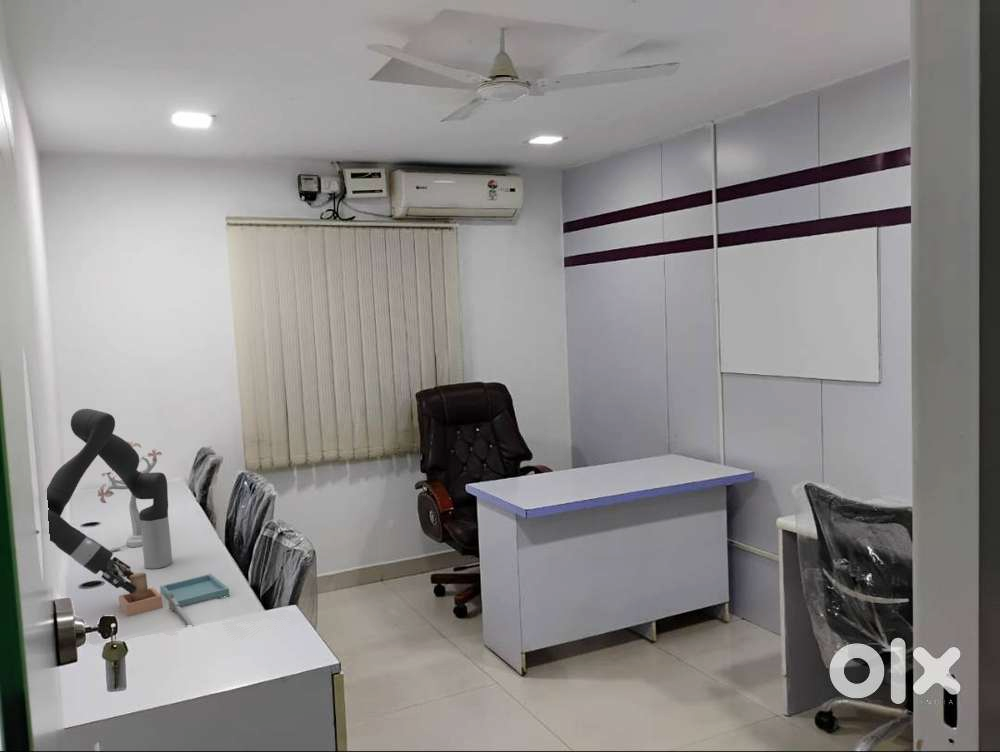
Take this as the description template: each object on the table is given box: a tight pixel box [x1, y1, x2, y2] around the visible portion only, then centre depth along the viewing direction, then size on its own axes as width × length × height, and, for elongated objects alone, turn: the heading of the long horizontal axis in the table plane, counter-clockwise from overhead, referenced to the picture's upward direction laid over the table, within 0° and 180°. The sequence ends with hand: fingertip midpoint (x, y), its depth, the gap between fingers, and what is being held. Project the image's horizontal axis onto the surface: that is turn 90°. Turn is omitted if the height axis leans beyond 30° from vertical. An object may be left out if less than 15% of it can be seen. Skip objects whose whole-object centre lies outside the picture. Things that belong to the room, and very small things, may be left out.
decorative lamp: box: [97, 440, 163, 560], centre depth 311 cm, size 28×24×40 cm
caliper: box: [167, 592, 194, 626], centre depth 237 cm, size 20×1×6 cm, turn 39°
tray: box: [159, 573, 230, 608], centre depth 257 cm, size 18×16×2 cm
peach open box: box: [118, 587, 163, 617], centre depth 247 cm, size 10×10×4 cm
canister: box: [129, 572, 148, 602], centre depth 247 cm, size 5×5×10 cm
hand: (136, 586), depth 246 cm, fingers open, 8 cm apart
